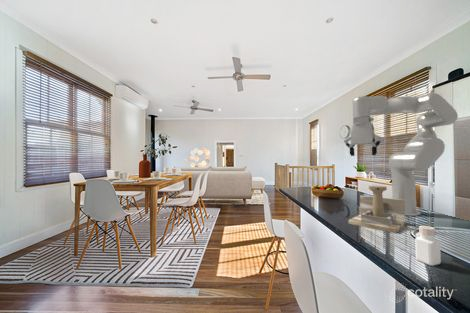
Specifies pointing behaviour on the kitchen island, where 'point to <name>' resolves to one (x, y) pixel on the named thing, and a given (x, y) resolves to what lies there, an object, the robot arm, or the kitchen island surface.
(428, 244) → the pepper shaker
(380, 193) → the handle
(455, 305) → the kitchen island surface
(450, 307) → the kitchen island surface
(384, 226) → the hinge stand
